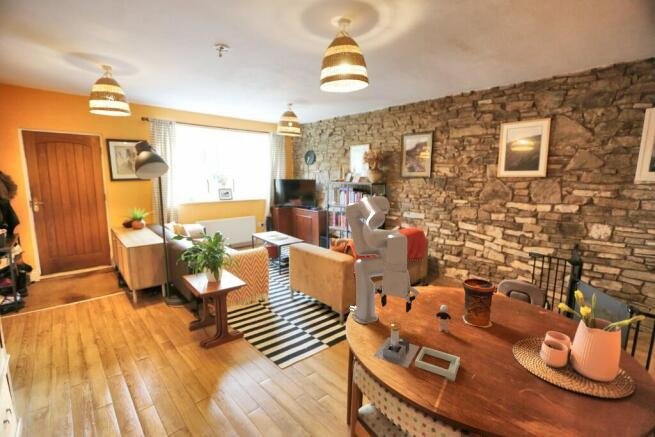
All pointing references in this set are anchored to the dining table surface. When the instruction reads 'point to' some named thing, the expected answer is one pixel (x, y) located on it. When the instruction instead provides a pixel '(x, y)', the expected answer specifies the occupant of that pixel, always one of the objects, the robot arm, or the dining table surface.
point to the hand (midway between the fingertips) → (395, 308)
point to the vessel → (478, 302)
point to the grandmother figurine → (443, 319)
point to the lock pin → (395, 336)
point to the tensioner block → (402, 356)
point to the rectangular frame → (448, 374)
